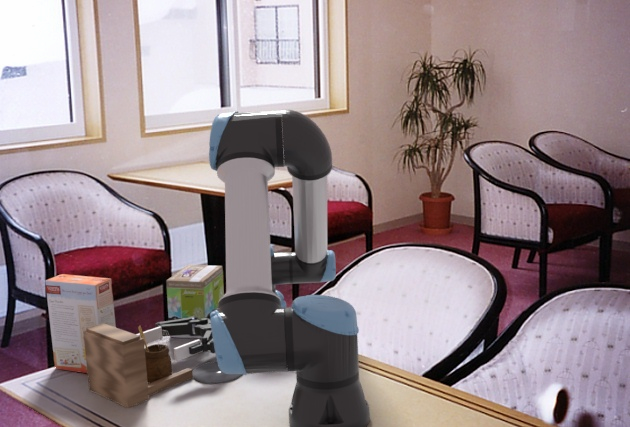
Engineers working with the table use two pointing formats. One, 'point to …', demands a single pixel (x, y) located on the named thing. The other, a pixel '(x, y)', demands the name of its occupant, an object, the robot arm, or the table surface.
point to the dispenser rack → (122, 366)
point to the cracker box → (76, 315)
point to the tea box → (194, 292)
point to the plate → (212, 373)
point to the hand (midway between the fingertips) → (155, 347)
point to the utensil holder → (157, 360)
